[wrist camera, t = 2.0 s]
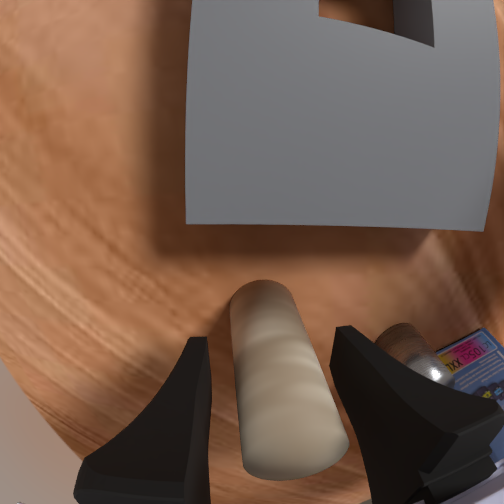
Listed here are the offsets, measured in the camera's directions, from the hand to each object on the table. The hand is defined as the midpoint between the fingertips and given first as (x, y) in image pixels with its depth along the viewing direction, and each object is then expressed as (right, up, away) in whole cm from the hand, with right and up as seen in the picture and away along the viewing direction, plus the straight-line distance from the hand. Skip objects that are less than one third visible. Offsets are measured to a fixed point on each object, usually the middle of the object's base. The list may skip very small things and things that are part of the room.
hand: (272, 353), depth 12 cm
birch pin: (0, +1, +3) cm, 3 cm away
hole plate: (+3, +14, -2) cm, 15 cm away
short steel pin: (+8, -2, +5) cm, 9 cm away
